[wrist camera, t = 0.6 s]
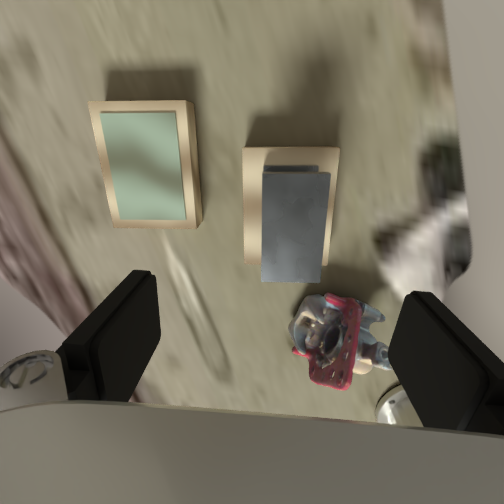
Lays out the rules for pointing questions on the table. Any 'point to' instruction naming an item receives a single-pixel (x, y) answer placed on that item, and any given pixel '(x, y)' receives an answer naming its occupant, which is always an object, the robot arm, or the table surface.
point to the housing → (293, 222)
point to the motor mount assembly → (337, 339)
